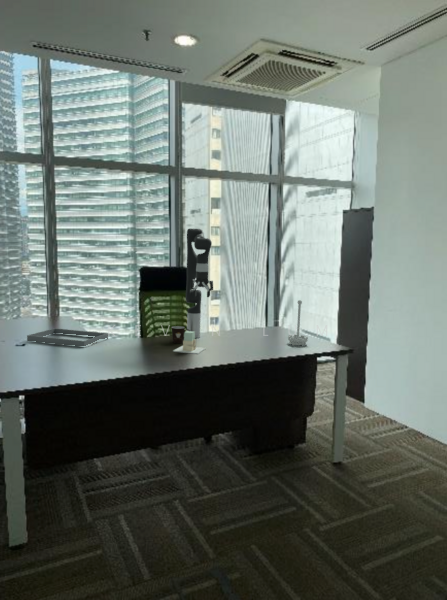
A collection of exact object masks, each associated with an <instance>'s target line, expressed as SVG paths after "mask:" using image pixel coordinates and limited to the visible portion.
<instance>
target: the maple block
mask: <svg viewBox="0 0 447 600" xmlns="http://www.w3.org/2000/svg"><path fill="white" fill-rule="evenodd" d="M196 341H197V339H195V340H193V341H184V339H183V342H182V346H183V350H185V351H193V350H195V349H196V347H197V346H196V343H197V342H196Z"/></svg>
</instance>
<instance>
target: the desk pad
mask: <svg viewBox="0 0 447 600" xmlns="http://www.w3.org/2000/svg"><path fill="white" fill-rule="evenodd" d="M206 348H207V347H199V346H196V349H195V350H193V351H185V350H183V345H181V346H179V347H177V348H175V349H173V350H172V352H173V353H174V352H175V353H182V354H183V353H184V354H194V355H199V354H201V353H202V352H204V351H205V350H206Z"/></svg>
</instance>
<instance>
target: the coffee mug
mask: <svg viewBox="0 0 447 600" xmlns="http://www.w3.org/2000/svg"><path fill="white" fill-rule="evenodd" d="M187 330H189V329H187V328H186V329H185V326H180V325H177V326H176V325H175V326H174V325H173V326H171V334H172V342H173V343H174V344H183V340H184V332H186V331H187ZM189 331H190V330H189Z"/></svg>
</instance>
